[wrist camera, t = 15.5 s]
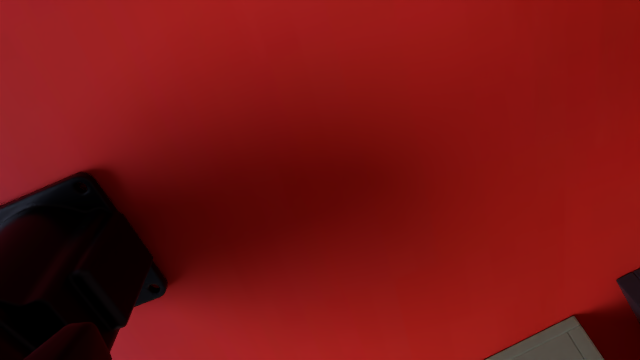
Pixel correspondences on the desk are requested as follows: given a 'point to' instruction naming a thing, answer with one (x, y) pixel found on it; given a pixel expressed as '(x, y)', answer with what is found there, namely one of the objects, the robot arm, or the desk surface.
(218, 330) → the desk surface
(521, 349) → the left tote
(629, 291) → the right tote
